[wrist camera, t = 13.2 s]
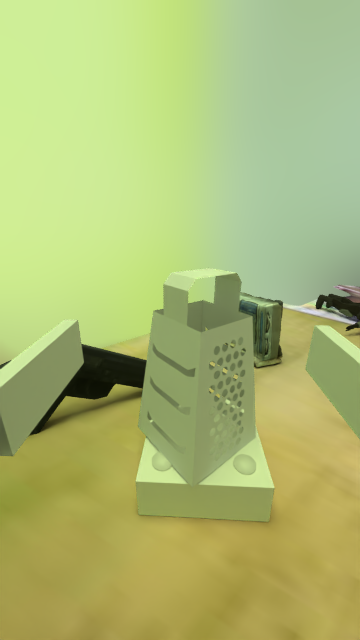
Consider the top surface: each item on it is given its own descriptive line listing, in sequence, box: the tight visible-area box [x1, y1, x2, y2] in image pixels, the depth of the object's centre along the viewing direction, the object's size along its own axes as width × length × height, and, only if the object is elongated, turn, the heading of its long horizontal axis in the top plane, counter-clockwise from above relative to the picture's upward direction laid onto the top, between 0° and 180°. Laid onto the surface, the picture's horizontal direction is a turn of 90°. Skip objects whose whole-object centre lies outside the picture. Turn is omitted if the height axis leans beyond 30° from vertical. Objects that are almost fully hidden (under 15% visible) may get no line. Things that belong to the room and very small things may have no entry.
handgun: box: [30, 344, 147, 434], centre depth 44 cm, size 2×24×15 cm, turn 119°
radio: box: [226, 292, 283, 367], centre depth 65 cm, size 23×9×15 cm, turn 14°
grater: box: [138, 268, 256, 488], centre depth 29 cm, size 10×10×20 cm
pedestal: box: [136, 399, 274, 522], centre depth 34 cm, size 14×14×5 cm
